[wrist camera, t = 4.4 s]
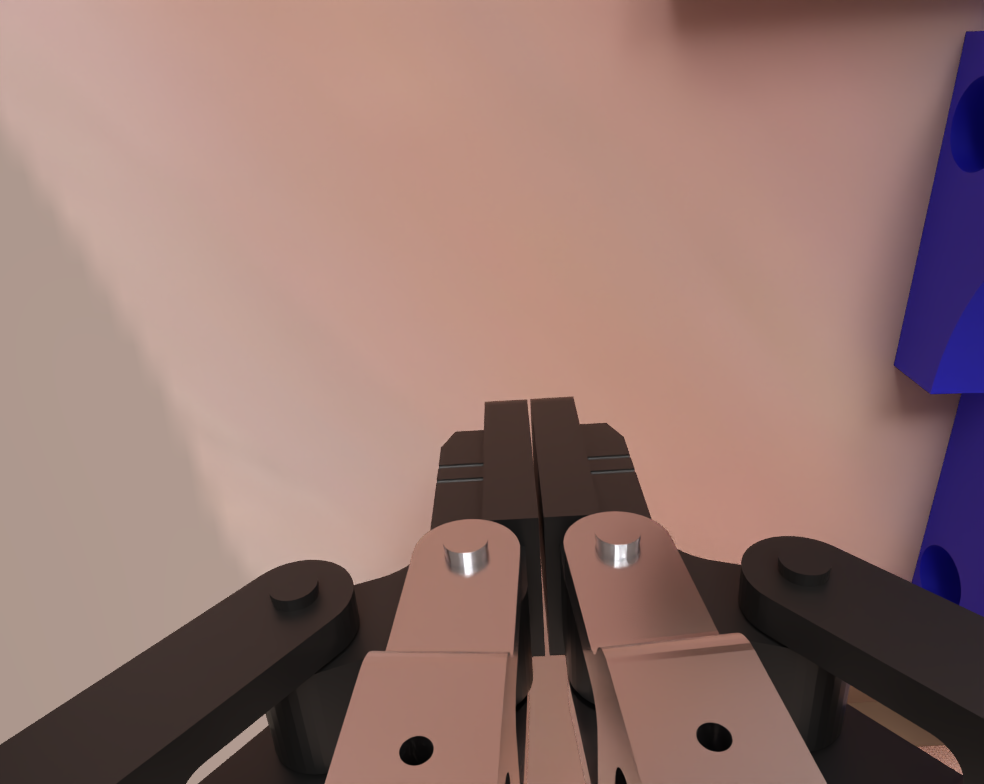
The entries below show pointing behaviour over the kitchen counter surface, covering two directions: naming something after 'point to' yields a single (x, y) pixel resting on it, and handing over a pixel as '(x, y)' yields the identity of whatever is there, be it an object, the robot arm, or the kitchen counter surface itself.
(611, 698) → the robot arm
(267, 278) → the kitchen counter surface
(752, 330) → the kitchen counter surface
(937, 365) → the cable clip
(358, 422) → the kitchen counter surface
